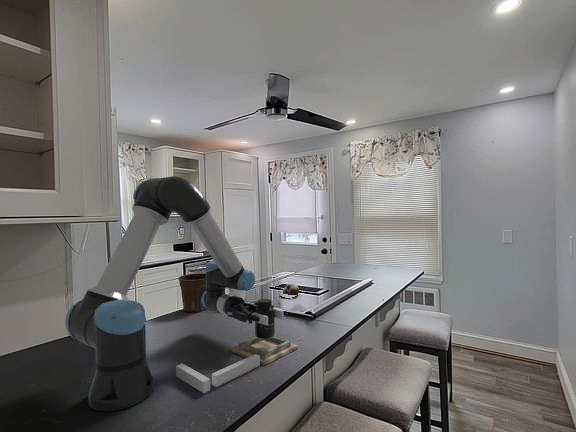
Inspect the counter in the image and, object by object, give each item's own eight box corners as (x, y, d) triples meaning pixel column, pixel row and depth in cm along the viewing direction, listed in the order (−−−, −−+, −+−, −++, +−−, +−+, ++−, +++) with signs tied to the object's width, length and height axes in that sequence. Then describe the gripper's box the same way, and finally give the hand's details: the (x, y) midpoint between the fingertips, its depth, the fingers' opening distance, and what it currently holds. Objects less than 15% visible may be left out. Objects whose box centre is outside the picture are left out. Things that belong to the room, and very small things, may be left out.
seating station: (264, 365, 100) (264, 357, 100) (231, 351, 110) (231, 343, 110) (297, 348, 112) (297, 341, 111) (265, 337, 122) (265, 330, 122)
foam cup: (245, 306, 162) (244, 280, 162) (226, 307, 163) (226, 281, 162) (247, 301, 172) (247, 277, 172) (230, 301, 172) (229, 277, 172)
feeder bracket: (203, 393, 85) (203, 381, 85) (175, 376, 94) (175, 365, 94) (259, 365, 99) (259, 355, 99) (231, 353, 109) (230, 344, 109)
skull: (274, 295, 180) (281, 279, 186) (283, 304, 186) (289, 289, 192) (291, 297, 173) (298, 281, 178) (300, 307, 179) (306, 291, 185)
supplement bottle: (272, 339, 107) (271, 303, 107) (252, 338, 108) (251, 302, 108) (277, 332, 114) (276, 298, 113) (258, 331, 115) (257, 297, 115)
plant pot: (195, 315, 149) (194, 280, 149) (171, 311, 157) (170, 277, 157) (219, 306, 163) (219, 274, 163) (196, 302, 171) (195, 272, 171)
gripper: (251, 309, 130) (294, 321, 115) (209, 322, 116) (253, 338, 100) (250, 290, 130) (294, 300, 115) (209, 301, 115) (252, 314, 100)
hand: (275, 317), depth 108 cm, fingers closed on supplement bottle, 7 cm apart
